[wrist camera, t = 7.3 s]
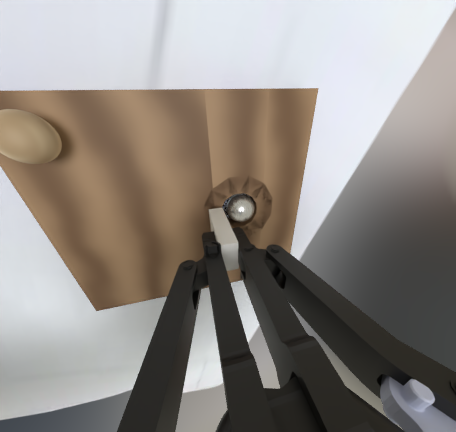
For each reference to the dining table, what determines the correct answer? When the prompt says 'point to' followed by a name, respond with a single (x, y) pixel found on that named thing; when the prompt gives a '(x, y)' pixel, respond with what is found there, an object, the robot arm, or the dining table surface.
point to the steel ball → (240, 208)
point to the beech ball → (27, 137)
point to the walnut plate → (160, 178)
